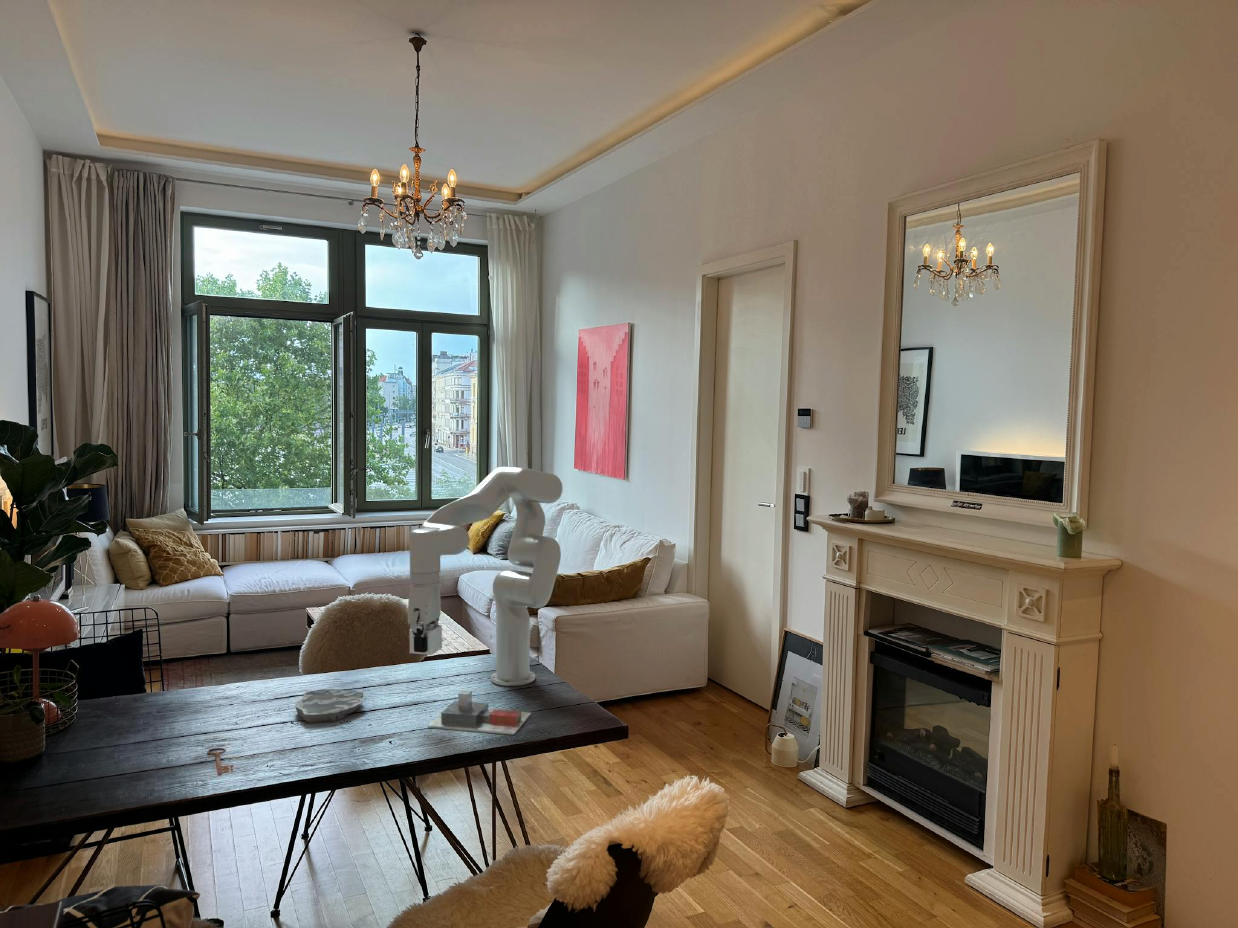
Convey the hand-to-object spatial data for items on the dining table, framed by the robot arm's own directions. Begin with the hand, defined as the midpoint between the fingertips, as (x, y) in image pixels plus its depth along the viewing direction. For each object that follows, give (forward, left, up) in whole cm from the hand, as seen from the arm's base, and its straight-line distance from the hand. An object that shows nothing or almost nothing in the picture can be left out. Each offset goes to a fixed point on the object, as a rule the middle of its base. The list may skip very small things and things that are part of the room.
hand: (426, 647), depth 220 cm
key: (+37, -32, -18) cm, 52 cm away
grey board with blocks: (+2, +15, -17) cm, 23 cm away
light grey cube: (0, 0, -1) cm, 1 cm away
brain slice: (+3, -25, -18) cm, 31 cm away
